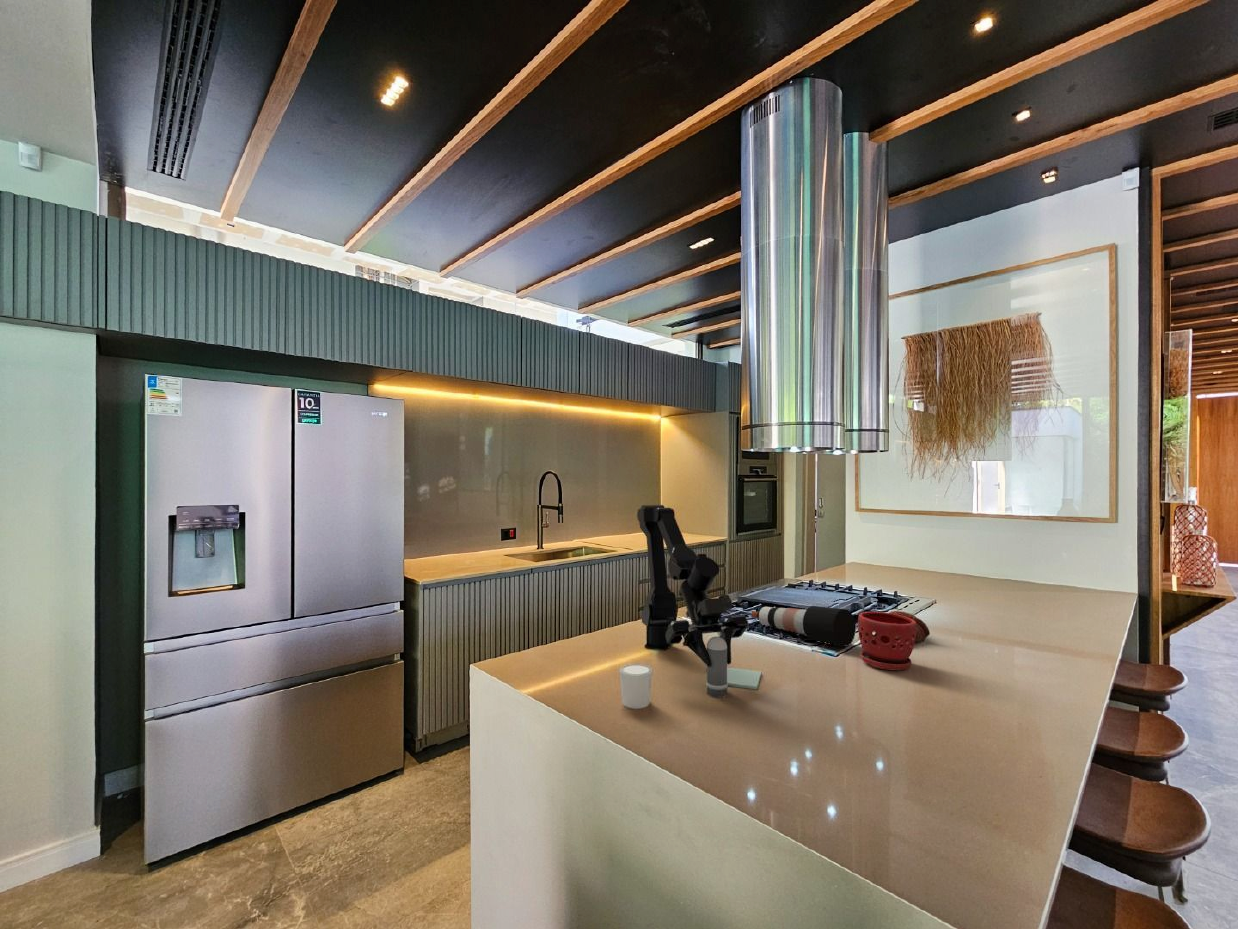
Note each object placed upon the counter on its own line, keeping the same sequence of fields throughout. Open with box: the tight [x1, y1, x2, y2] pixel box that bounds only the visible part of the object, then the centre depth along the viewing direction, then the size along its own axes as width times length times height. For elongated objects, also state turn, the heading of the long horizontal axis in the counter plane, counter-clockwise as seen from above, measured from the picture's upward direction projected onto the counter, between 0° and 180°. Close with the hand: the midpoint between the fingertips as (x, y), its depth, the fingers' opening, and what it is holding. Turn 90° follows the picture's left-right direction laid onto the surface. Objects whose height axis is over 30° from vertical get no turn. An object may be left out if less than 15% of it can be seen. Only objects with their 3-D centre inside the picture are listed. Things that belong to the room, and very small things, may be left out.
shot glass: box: [619, 663, 653, 710], centre depth 114 cm, size 7×7×7 cm
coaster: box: [727, 666, 762, 690], centre depth 127 cm, size 10×10×1 cm
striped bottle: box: [750, 605, 857, 647], centre depth 163 cm, size 10×34×10 cm, turn 33°
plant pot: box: [857, 611, 916, 671], centre depth 137 cm, size 13×13×12 cm
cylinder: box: [705, 636, 729, 698], centre depth 119 cm, size 5×5×12 cm
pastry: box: [889, 610, 931, 645], centre depth 160 cm, size 17×15×8 cm
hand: (719, 664), depth 118 cm, fingers closed on cylinder, 4 cm apart
